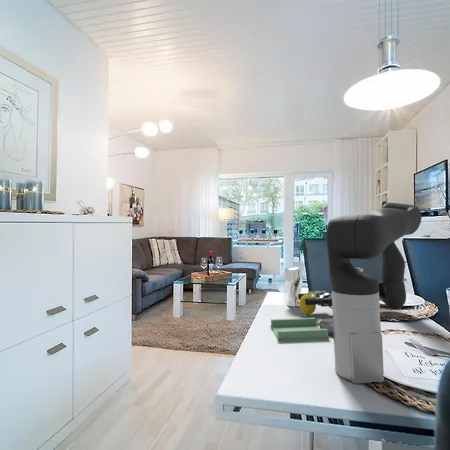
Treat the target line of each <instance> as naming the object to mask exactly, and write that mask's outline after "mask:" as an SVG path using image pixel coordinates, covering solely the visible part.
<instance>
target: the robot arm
mask: <svg viewBox="0 0 450 450" xmlns="http://www.w3.org/2000/svg"><path fill="white" fill-rule="evenodd" d="M421 223H422V212H421V209H420V208H419V207H418V206H416V205H413V204H408V203H399V202H386V203H384V204H383V205H382V207H381V208H378V209H375V210H373V211H371V212H369V213H368V214H356V215H355V214H354V215H342V216H341V215H340V216H339V215H338V216H333V217H332V218H330V220H329V221H328V223H327V227H326V231H325V232H326V233H325V235H326V237H325V239H326V251H327V259H328V271H329V278H330V284H331V288H330V291H329V292H327V291H324V290H316V291H309V290H308V291H307V292H305V293H301V294H298V299H299V300H300V299H301V297H302V296H303V295H305V294H306V293H308V294H309V295H311V296H312V295H313V298H306V299H305V304H306V305H316V306H320V307H324V308H325V307H331V308H332V318H333V331H334V337H333V350H334V369H335V373H336V374H337V375H338V376H340V377H342V378H343V379H345V380H348V381H350V382H351V383H352V384H372V383H371V382H379V383H384V382H385V371H384V369H385V368H384V353H383V352H384V349H383V335H382V331H381V330H382V328H381V309H380V307H381V306H380V305H381V304H380V300H381V301H382V302H383V304H384V305H386V307H387V308H388V309H390V310H399V309H401V308H403V306H404V305H405V303H406V301H407V292H406V285H405V282H404V281H405V280H404V278H405V271H406V262H405V259H404V257H403V254H402V252H401V251H400V249H399V248H398V246H397V244H396V243H395V242H396V241H398V240H400V238H403V237H404V236H409V235H412V234H414V233H415V232H416V231H417V230H418V229H419V227H420V226H421ZM379 256H381V271H380V278H381V281H379V280H378V278H376V277H375V276H374V275H371V274H369V273H366V272H364V271H362V270H360V269H358V268H357V267H356V266H354V265H353V264H352V262H351V260H353V259H354V260H355V259H356V260H371V259H375V258H378V257H379ZM383 375H384V377H383ZM383 381H384V382H383Z"/></svg>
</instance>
